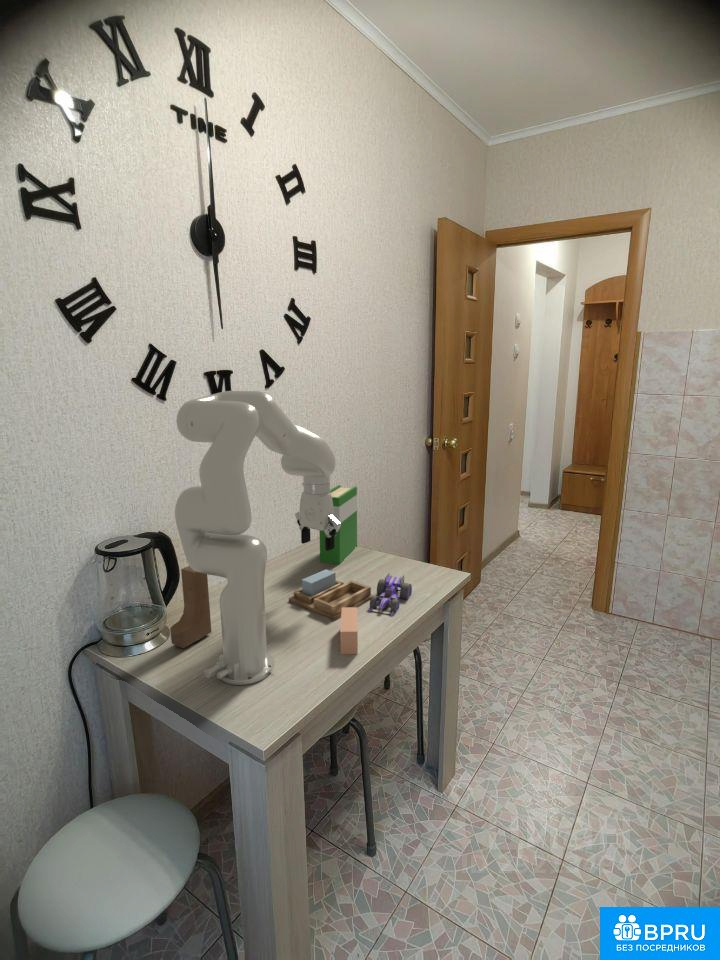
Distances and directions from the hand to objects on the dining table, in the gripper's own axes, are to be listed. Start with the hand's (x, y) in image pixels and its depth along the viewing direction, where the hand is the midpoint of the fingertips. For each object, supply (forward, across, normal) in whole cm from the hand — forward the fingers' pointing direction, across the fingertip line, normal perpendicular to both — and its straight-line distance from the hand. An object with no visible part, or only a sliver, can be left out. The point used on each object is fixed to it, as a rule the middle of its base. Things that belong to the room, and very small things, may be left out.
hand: (317, 545), depth 143 cm
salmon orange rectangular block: (+16, +23, -13) cm, 31 cm away
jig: (+16, +5, 0) cm, 16 cm away
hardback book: (+15, -17, +28) cm, 36 cm away
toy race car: (+16, +19, +9) cm, 27 cm away
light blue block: (+14, 0, +1) cm, 15 cm away
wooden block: (+16, -8, -37) cm, 41 cm away
